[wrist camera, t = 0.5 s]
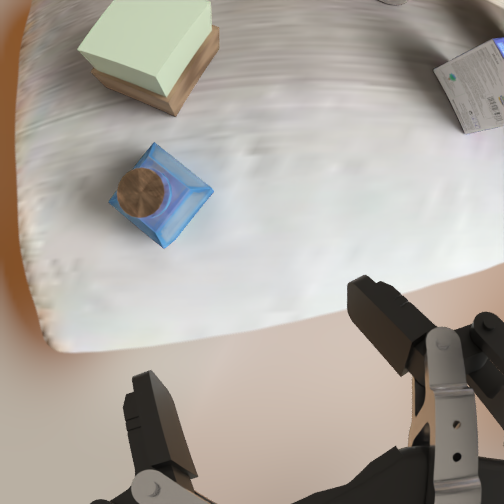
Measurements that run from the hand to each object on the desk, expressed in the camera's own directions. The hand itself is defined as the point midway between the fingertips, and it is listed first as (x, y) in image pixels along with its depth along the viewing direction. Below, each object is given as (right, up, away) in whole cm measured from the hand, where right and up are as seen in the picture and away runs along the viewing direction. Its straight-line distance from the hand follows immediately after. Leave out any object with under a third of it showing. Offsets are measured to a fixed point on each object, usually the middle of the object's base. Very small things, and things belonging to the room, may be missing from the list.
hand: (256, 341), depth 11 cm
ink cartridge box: (+28, +24, +21) cm, 42 cm away
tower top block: (-9, +22, +12) cm, 27 cm away
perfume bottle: (-8, +9, +19) cm, 23 cm away
